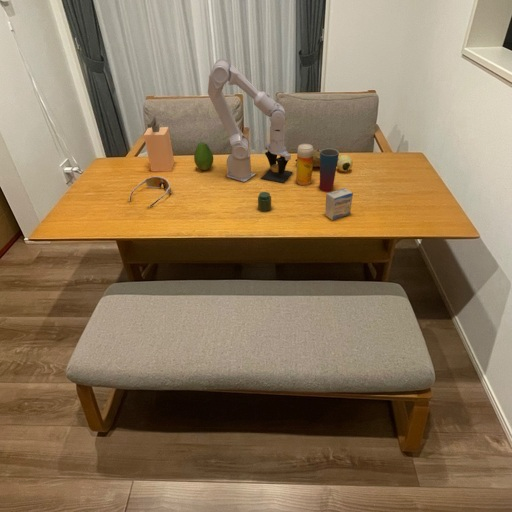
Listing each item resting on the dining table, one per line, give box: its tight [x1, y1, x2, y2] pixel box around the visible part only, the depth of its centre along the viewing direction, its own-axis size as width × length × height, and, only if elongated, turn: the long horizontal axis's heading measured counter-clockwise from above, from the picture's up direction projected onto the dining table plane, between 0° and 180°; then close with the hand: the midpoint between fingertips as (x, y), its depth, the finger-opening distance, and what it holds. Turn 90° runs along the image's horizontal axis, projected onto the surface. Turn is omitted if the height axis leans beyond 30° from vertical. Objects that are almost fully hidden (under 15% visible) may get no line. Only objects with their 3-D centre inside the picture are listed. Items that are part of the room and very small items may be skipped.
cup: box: [319, 147, 340, 193], centre depth 146 cm, size 7×7×15 cm
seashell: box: [295, 148, 322, 168], centre depth 163 cm, size 11×14×10 cm
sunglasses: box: [128, 175, 172, 208], centre depth 149 cm, size 14×15×5 cm
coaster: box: [260, 167, 294, 184], centre depth 160 cm, size 10×10×1 cm
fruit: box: [193, 142, 214, 171], centre depth 163 cm, size 8×8×12 cm
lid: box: [271, 163, 279, 172], centre depth 158 cm, size 5×5×1 cm
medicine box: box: [324, 188, 354, 221], centre depth 133 cm, size 8×4×9 cm, turn 117°
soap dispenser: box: [143, 115, 175, 173], centre depth 161 cm, size 13×9×22 cm
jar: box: [257, 191, 272, 213], centre depth 138 cm, size 5×5×6 cm
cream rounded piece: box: [336, 154, 354, 172], centre depth 160 cm, size 6×7×7 cm
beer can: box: [295, 143, 315, 186], centre depth 150 cm, size 6×6×15 cm
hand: (277, 170), depth 158 cm, fingers closed on lid, 5 cm apart
